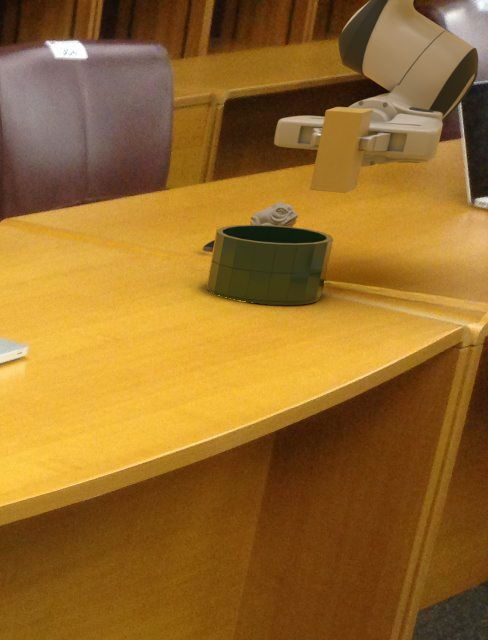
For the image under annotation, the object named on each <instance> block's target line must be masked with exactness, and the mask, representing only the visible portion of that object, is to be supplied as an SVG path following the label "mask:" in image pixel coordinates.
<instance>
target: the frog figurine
mask: <svg viewBox="0 0 488 640" xmlns="http://www.w3.org/2000/svg"><path fill="white" fill-rule="evenodd" d="M298 218H299V214H298V213H297V212H296V210H294V207H293V206H292V205H291V204H287V203H284V202H276V203H274V204H272V205H271V206H268V207H266V208H264V209H262V210H259V211H256V212H255V213H253V214H252V215H251V216H250V219H251V221H250V222H249V225H276V226H288V227H294V225H296V223H297V220H298Z"/></svg>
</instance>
